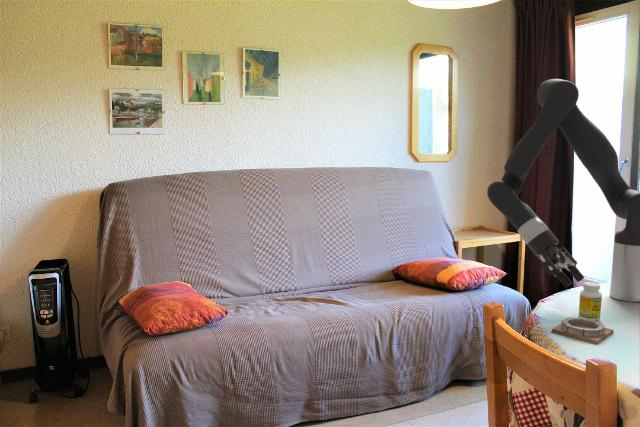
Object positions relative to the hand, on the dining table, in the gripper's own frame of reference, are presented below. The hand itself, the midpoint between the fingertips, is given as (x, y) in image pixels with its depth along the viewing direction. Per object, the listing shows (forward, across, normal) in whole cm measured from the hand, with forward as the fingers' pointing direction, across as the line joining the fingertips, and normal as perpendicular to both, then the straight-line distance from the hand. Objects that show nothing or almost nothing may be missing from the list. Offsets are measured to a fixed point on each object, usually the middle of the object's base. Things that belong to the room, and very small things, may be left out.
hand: (575, 282), depth 151 cm
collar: (+12, -13, +1) cm, 17 cm away
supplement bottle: (+10, 0, +4) cm, 10 cm away
